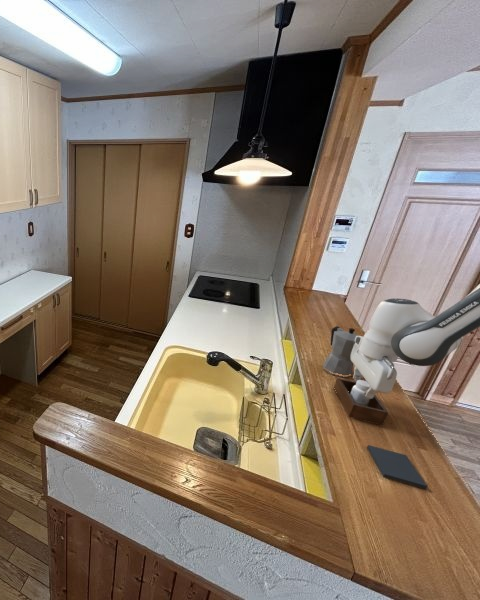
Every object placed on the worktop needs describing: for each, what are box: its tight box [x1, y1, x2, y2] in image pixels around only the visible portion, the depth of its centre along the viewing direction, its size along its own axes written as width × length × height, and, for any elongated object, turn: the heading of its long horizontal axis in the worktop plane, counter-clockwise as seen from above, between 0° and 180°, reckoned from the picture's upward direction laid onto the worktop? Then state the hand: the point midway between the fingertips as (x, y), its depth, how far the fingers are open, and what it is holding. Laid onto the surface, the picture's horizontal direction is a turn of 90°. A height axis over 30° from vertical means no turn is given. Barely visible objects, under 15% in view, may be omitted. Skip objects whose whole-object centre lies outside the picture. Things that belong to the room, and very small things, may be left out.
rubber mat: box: [366, 444, 428, 490], centre depth 81 cm, size 8×10×1 cm
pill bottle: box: [350, 379, 370, 407], centre depth 102 cm, size 5×5×8 cm
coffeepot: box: [321, 325, 360, 379], centre depth 121 cm, size 15×9×18 cm, turn 174°
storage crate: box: [333, 377, 389, 426], centre depth 103 cm, size 8×16×4 cm, turn 158°
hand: (361, 388), depth 101 cm, fingers open, 8 cm apart
